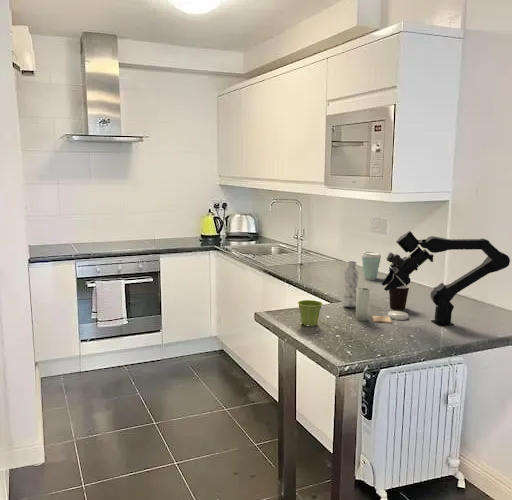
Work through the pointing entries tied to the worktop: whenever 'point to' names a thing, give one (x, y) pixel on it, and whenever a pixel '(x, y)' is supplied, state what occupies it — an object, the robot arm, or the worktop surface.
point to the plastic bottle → (350, 285)
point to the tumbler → (362, 304)
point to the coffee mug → (398, 297)
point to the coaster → (382, 319)
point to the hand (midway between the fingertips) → (383, 287)
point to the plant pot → (309, 312)
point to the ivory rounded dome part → (398, 315)
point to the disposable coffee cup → (370, 264)
